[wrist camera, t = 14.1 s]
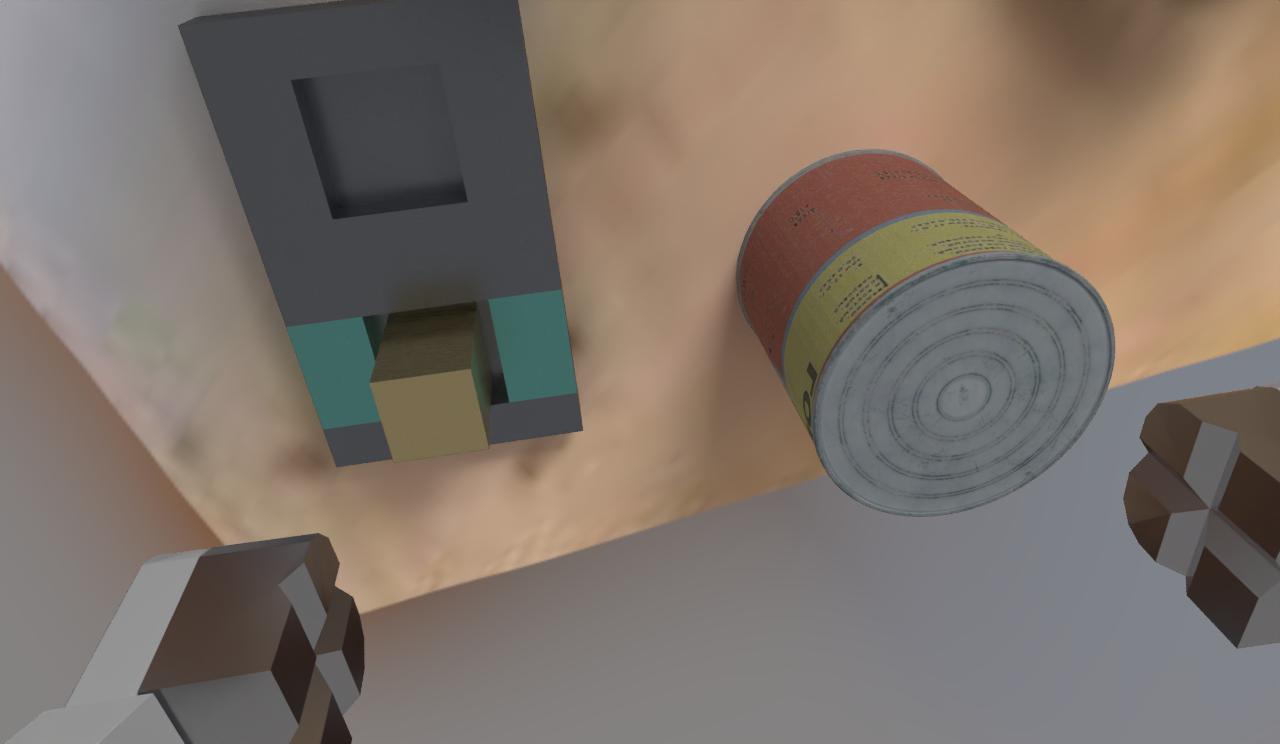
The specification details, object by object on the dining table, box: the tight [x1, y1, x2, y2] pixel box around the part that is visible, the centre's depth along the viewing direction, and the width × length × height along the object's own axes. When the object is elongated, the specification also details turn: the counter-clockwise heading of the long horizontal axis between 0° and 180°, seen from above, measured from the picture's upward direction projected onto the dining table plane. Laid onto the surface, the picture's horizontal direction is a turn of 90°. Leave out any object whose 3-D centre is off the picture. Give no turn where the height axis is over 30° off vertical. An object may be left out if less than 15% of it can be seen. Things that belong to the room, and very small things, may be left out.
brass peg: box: [369, 302, 492, 463], centre depth 36 cm, size 4×4×6 cm
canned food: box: [737, 150, 1115, 517], centre depth 35 cm, size 11×11×12 cm
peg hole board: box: [178, 0, 583, 467], centre depth 36 cm, size 20×12×2 cm, turn 5°
